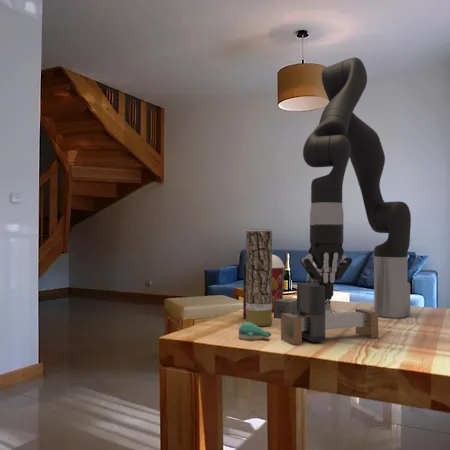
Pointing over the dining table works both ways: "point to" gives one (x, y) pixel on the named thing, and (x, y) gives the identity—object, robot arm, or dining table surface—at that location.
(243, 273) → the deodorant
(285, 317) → the grey bar with endplates
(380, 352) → the dining table surface
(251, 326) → the whale figurine
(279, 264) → the smoothie
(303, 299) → the collar
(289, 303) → the grey cube
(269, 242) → the paper tube
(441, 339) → the dining table surface
